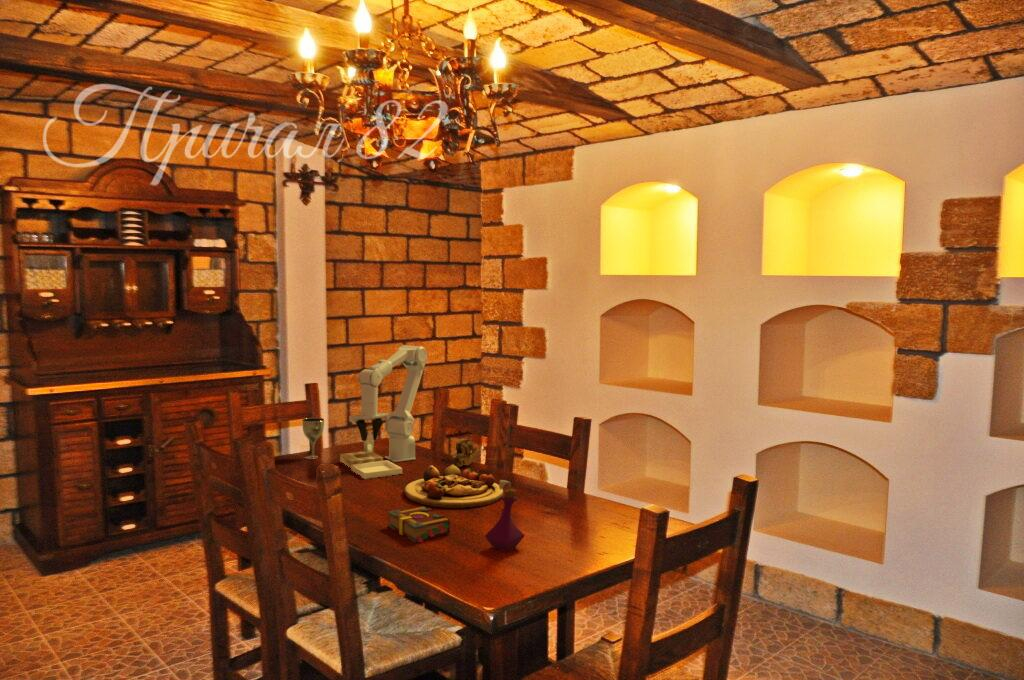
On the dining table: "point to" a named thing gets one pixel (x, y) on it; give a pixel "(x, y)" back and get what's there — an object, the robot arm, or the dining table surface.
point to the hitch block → (359, 458)
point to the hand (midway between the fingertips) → (369, 439)
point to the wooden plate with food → (454, 488)
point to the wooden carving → (464, 452)
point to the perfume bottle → (505, 524)
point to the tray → (376, 469)
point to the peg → (369, 440)
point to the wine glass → (313, 431)
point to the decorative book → (419, 523)
